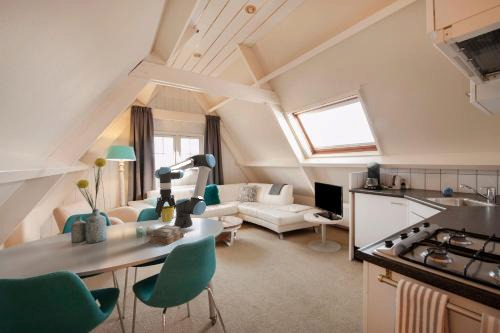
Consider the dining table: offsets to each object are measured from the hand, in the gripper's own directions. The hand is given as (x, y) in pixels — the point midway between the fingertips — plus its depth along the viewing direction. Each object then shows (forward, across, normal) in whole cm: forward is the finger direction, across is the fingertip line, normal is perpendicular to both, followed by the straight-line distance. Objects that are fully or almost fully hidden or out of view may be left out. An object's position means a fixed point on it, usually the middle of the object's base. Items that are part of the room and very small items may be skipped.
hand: (166, 219), depth 157 cm
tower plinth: (+14, 0, 0) cm, 14 cm away
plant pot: (+1, 0, 0) cm, 1 cm away
